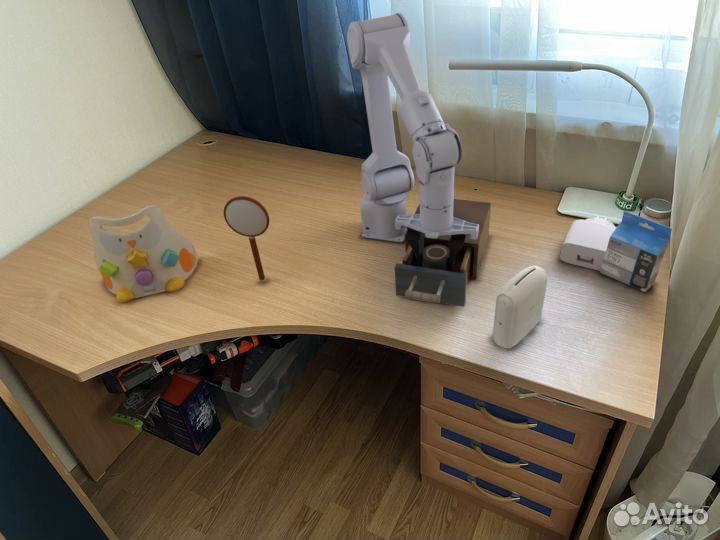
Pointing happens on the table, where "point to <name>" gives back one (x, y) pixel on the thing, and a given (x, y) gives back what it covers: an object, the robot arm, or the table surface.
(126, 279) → the shape sorter
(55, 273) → the table surface
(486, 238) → the cabinet
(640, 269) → the label tape box
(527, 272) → the photo printer
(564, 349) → the table surface
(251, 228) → the magnifying glass
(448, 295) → the drawer
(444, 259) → the cylinder
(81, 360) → the table surface
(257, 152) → the table surface
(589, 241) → the charger
